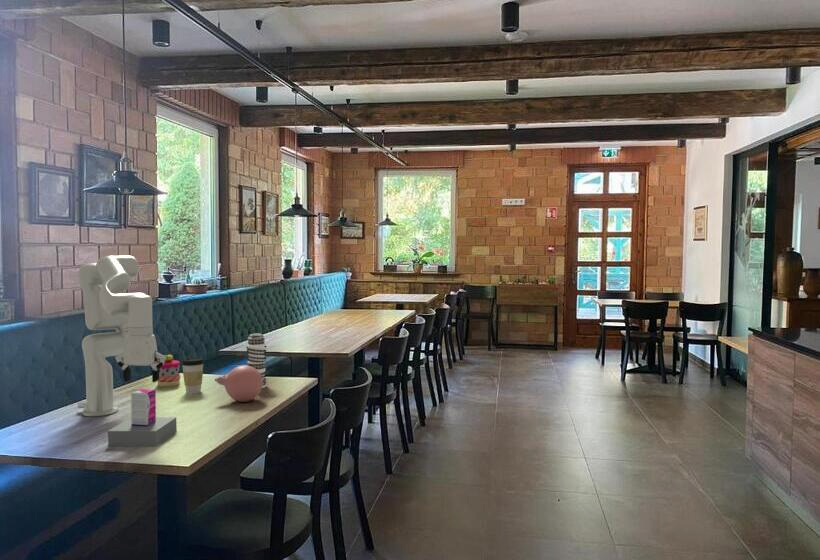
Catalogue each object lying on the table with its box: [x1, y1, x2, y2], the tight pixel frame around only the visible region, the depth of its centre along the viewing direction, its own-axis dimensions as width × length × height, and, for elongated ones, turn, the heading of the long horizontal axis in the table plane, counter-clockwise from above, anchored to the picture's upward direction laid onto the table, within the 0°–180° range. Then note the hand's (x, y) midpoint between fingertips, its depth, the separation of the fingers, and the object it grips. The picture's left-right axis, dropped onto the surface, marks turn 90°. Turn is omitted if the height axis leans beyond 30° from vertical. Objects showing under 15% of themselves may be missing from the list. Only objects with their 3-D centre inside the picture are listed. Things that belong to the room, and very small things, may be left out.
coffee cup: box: [180, 357, 205, 395], centre depth 268 cm, size 10×10×15 cm
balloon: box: [214, 364, 263, 403], centre depth 252 cm, size 15×20×15 cm
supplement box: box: [130, 388, 157, 426], centre depth 202 cm, size 6×6×12 cm
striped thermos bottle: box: [246, 333, 267, 389], centre depth 278 cm, size 9×9×25 cm
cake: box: [157, 354, 182, 388], centre depth 284 cm, size 10×11×15 cm
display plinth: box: [107, 416, 178, 447], centre depth 202 cm, size 16×16×5 cm
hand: (141, 381), depth 202 cm, fingers open, 9 cm apart
